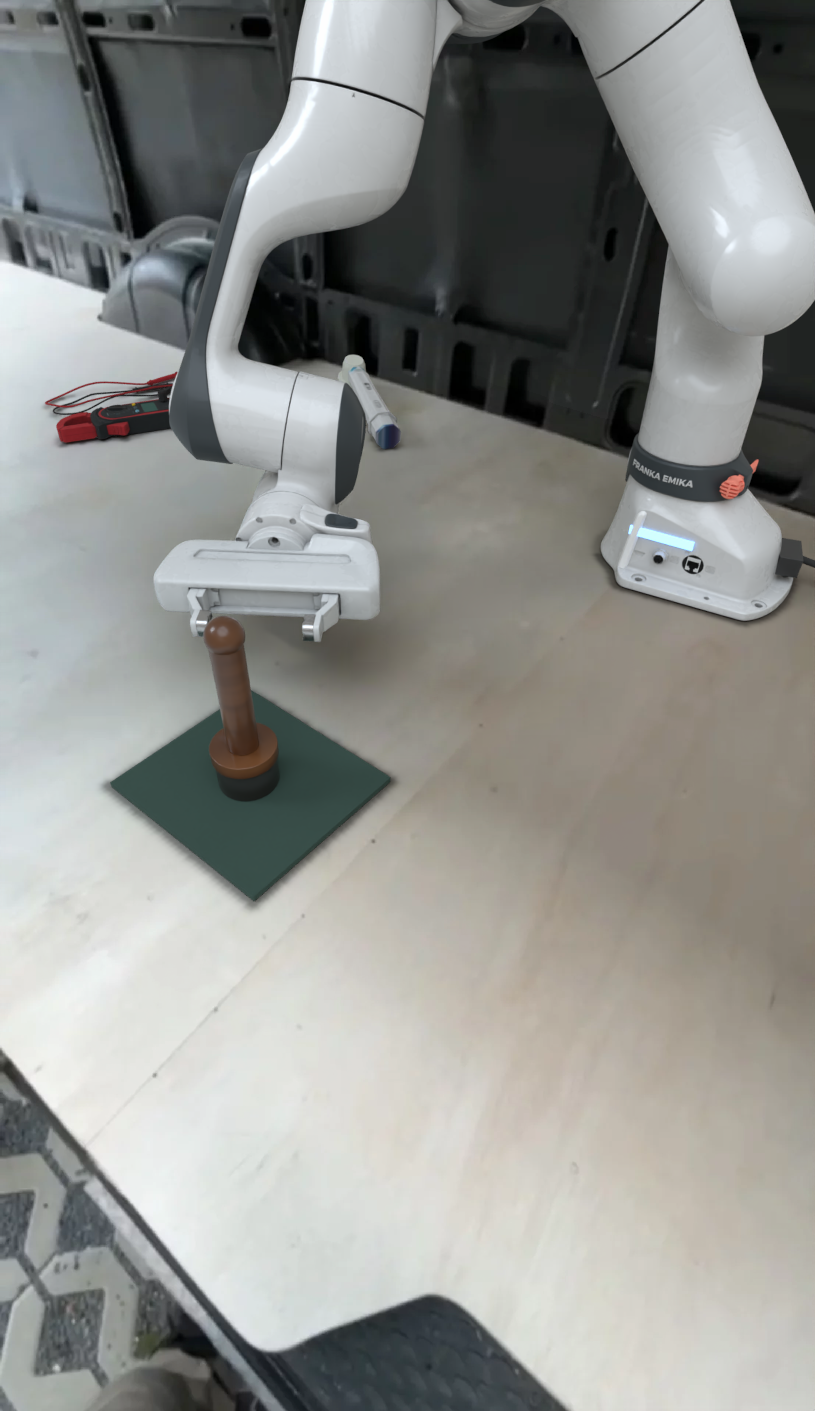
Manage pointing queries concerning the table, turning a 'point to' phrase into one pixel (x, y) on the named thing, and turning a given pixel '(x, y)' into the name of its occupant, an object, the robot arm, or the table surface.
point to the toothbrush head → (370, 402)
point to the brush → (238, 719)
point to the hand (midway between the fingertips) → (255, 633)
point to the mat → (260, 832)
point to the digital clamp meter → (116, 413)
